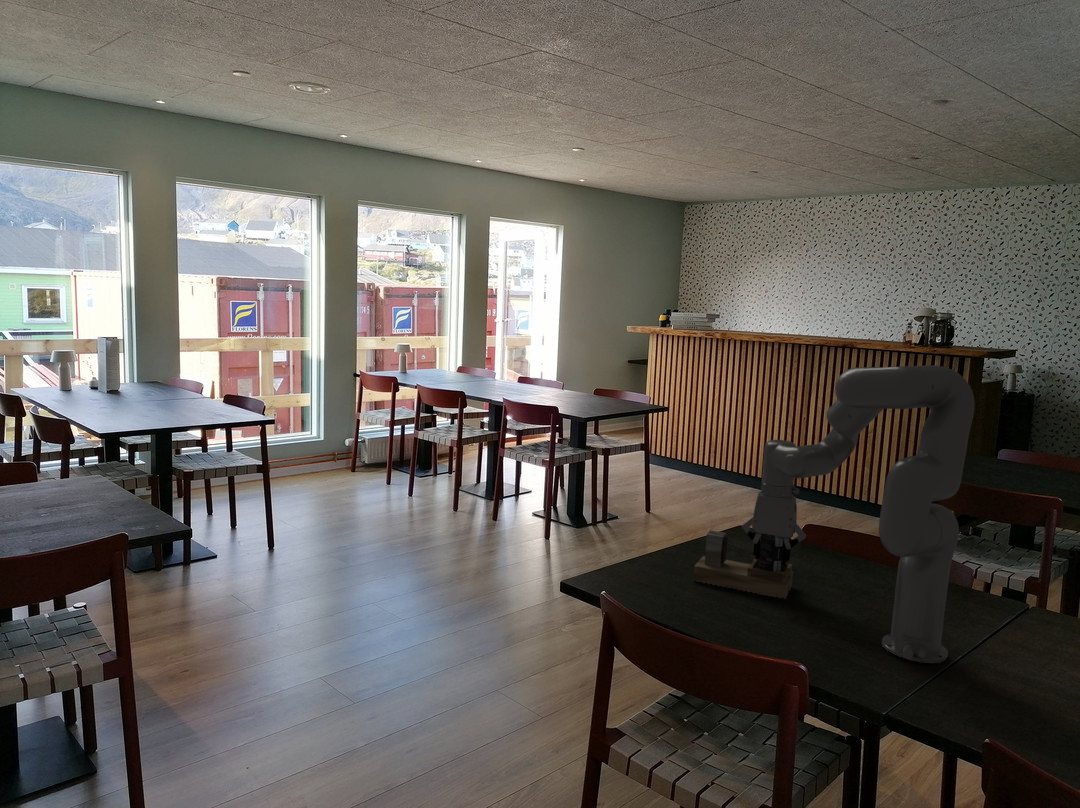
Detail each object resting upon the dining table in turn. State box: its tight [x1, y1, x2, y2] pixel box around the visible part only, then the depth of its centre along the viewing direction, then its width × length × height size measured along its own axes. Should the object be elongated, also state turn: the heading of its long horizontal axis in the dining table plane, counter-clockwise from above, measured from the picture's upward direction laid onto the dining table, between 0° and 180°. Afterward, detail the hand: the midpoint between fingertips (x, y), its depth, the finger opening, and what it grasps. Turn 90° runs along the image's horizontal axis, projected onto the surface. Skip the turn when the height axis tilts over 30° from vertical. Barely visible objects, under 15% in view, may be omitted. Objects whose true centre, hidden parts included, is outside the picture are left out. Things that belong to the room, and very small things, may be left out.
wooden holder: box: [692, 529, 794, 600], centre depth 199 cm, size 10×23×12 cm, turn 64°
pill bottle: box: [758, 534, 785, 573], centre depth 195 cm, size 6×6×11 cm
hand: (771, 559), depth 196 cm, fingers closed on pill bottle, 6 cm apart
